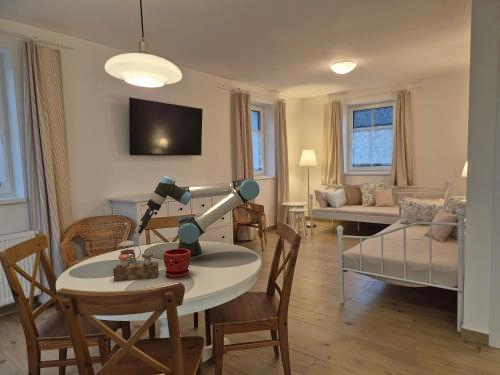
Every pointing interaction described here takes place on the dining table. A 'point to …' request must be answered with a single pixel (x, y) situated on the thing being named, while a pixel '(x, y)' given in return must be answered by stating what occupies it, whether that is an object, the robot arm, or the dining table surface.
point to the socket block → (136, 271)
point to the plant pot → (177, 262)
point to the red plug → (124, 259)
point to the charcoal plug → (147, 258)
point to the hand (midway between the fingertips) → (136, 234)
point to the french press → (129, 243)
